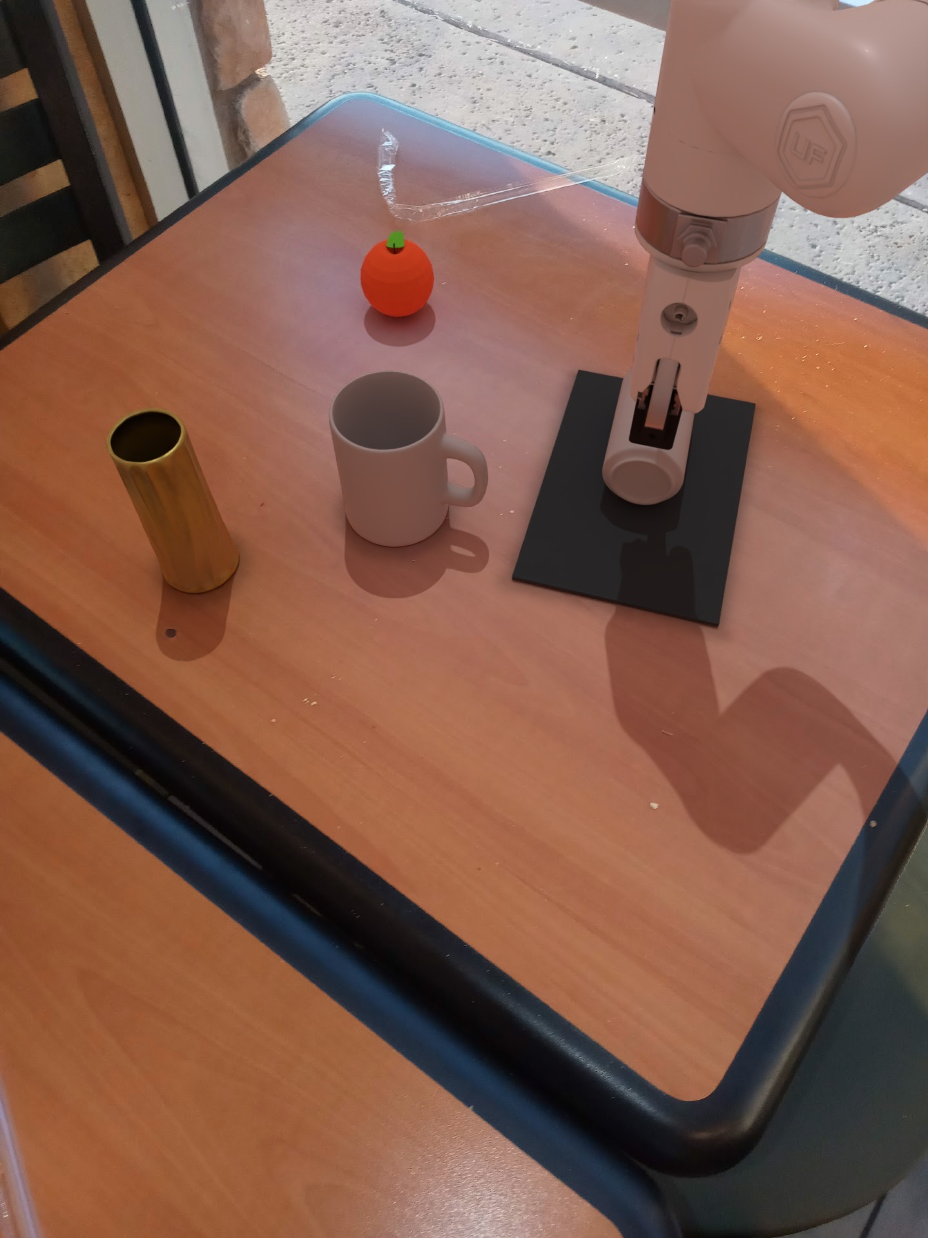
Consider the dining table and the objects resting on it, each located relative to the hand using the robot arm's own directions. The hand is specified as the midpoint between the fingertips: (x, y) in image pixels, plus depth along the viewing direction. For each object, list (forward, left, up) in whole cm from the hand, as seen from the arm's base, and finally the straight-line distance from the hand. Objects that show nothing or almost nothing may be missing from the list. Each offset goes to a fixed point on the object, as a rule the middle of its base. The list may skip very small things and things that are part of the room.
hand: (651, 438), depth 66 cm
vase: (+15, +31, -9) cm, 36 cm away
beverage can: (0, 0, -6) cm, 6 cm away
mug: (+10, +14, -9) cm, 20 cm away
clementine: (+33, +2, -9) cm, 35 cm away
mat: (+2, -3, -9) cm, 10 cm away
